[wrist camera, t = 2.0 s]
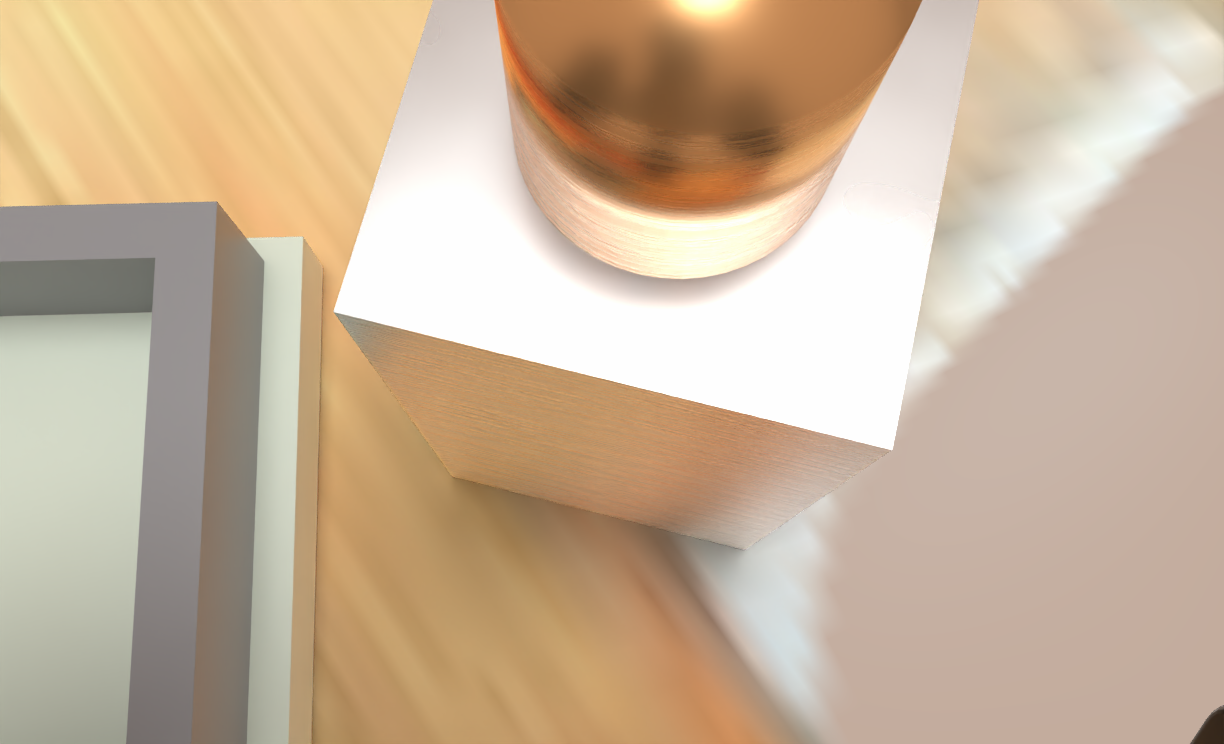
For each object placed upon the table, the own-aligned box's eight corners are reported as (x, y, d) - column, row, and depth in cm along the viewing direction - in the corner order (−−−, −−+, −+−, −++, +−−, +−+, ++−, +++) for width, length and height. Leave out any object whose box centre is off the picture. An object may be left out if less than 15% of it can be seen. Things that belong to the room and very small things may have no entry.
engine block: (745, 550, 19) (1016, 363, 7) (452, 476, 19) (234, 172, 7) (806, 270, 20) (1129, -294, 8) (529, 203, 21) (451, -445, 9)
